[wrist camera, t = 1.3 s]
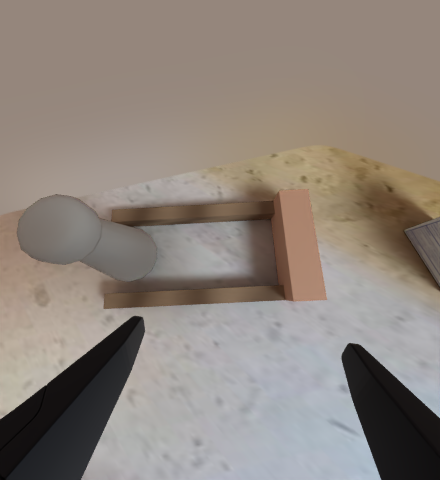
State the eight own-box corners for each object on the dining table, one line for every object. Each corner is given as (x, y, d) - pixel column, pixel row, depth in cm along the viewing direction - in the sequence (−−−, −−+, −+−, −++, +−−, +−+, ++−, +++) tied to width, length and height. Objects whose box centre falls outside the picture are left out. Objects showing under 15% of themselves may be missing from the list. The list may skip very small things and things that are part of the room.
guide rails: (113, 307, 23) (103, 308, 21) (121, 215, 25) (112, 209, 23) (280, 299, 22) (285, 300, 20) (269, 207, 25) (273, 200, 23)
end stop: (280, 299, 22) (293, 301, 18) (269, 207, 25) (278, 190, 21) (307, 297, 22) (326, 299, 18) (293, 206, 25) (308, 188, 21)
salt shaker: (117, 236, 25) (3, 179, 12) (163, 232, 25) (98, 172, 12) (114, 284, 23) (-18, 278, 11) (163, 280, 23) (88, 270, 11)
